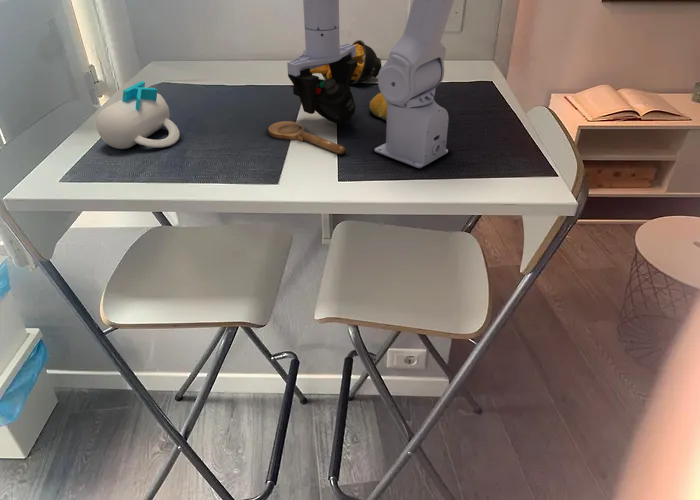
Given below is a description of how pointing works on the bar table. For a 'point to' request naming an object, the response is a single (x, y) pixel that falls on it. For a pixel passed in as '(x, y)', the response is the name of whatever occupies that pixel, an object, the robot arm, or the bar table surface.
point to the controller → (333, 101)
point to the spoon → (301, 135)
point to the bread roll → (379, 106)
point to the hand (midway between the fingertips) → (324, 106)
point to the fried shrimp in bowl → (365, 65)
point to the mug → (136, 119)
